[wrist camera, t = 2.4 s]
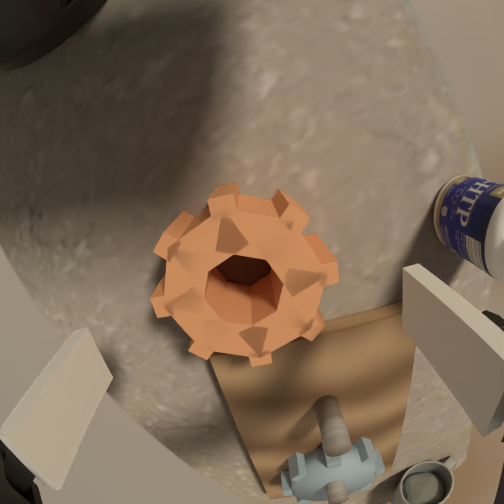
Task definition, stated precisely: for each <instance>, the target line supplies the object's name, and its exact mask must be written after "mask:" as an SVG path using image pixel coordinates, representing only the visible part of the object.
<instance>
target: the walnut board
mask: <svg viewBox="0 0 504 504" xmlns="http://www.w3.org/2000/svg"><path fill="white" fill-rule="evenodd" d="M402 308H403V301H401V302H398V303H394V304H391V305H387V306H383V307H380V308H376V309H372V310H368V311H365V312H361V313H357V314H353V315H349V316H345V317H341V318H336V319H332V320H328V321H324V323H325V327H324V328H323V329H322V330H321V331H320V333H319V334H318V335H317V336H316V337H315V338H314V340H313V341H310V340H308V339H306V338H304V337H302V336H299V337H297V338H296V339H294V340H292V341H290V342H289V343H287V344H285V345H283V346H281V347H280V348H278V349H276V350H274V351H272V352H271V354H272V363H271V364H266V365H260V366H254V367H252V366H251V363H250V359H249V357H248V356H241V355H234V354H227V353H221V352H213V353H212V354H211V356H210V357H209V358H210V361H211V363H212V366H213V369H214V371H215V374H216V377H217V379H218V382H219V384H220V387H221V389H222V392H223V394H224V397H225V399H226V402H227V404H228V407H229V409H230V412H231V414H232V416H233V419H234V421H235V424H236V426H237V428H238V431H239V433H240V435H241V438H242V440H243V442H244V444H245V447H246V449H247V451H248V453H249V456H250V458H251V460H252V462H253V464H254V466H255V469H256V471H257V473H258V475H259V477H260V479H261V481H262V483H263V486H264V488H265V490H266V492H267V494H268V496H269V498H270V499H276V498H284V497H291V496H294V495H289V496H284V494H283V490H282V479H281V471H285V470H289V464H288V458H289V457H290V456H292V455H293V454H294V453H296V452H297V453H301V454H305V453H307V452H309V451H311V450H313V449H316V448H319V447H322V446H324V451H325V454H326V455H327V456H330V457H336V456H340V455H343V454H345V453H347V452H348V451H350V449H351V448H352V444H351V442H356V441H357V440H359V439H360V438H361V437H363V438H367V439H370V440H371V443H372V446H373V449H374V450H375V449H378V450H379V452H380V455H381V458H382V461H383V463H384V466H385V470H384V473H382V474H379V475H376V476H375V477H377V476H380V475H383V474H386V473H389V472H391V469H392V465H393V462H394V458H395V454H396V450H397V447H398V443H399V438H400V434H401V430H402V425H403V421H404V416H405V411H406V406H407V401H408V395H409V389H410V383H411V377H412V370H413V362H414V354H415V346H416V344H415V342H414V341H413V340H412V339H411V337H410V336H409V335H408V333H407V332H406V331H405V330H404V328H403V327H402ZM322 442H323V445H322ZM325 487H326V492H327V497H328V502H329V504H341V503H344V502H346V501H347V500H348V499H349V498H348V494H347V490H346V486H345V482H344V481H343V480H335V481H332V482H330V483H328V484H326V486H325Z"/></svg>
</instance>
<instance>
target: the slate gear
mask: <svg viewBox="0 0 504 504" xmlns="http://www.w3.org/2000/svg"><path fill="white" fill-rule="evenodd" d="M351 444H352V448H351V449H350V451H348V452H347V453H345V454H343V455H340V456H336V457H330V456H327V455H326V454H325V451H324V446H322V447H319V448H316V449H313V450H311V451H309V452H307V453H305V454H301V453H297V452H296V453H294V454H293V455H292V456H290V457H289V458H288V464H289V470H285V471H281V479H282V490H283V494H284V496H289V495H294V496H295V497H297V503H304V504H307V503H309V502H311V501H323V500H328V497H327V492H326V487H325V486H326V484H328V483H330V482H332V481H335V480H343V481H344V482H345V486H346V490H347V494H351V493H353V492H355V491H357V490H362V491H364V490H365V489H367V488H368V487H370V486H372V484H371V481H372V480H373V478H374V477H375V476H376V475H379V474H382V473H384V470H385V466H384V463H383V461H382V458H381V455H380V452H379V450H378V449H375V450H374V449H373V446H372V443H371V440H370V439H367V438H363V437H361V438H360V439H359V440H357V441H356V442H351ZM322 445H323V442H322Z"/></svg>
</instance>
